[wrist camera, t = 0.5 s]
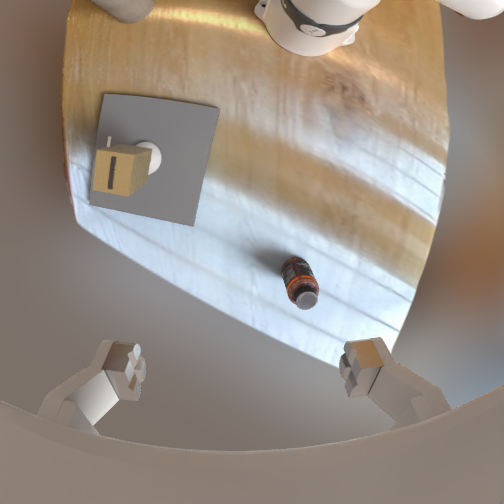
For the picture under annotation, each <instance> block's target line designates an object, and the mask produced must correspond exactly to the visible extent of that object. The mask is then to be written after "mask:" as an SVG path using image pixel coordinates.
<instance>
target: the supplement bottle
mask: <svg viewBox="0 0 504 504" xmlns="http://www.w3.org/2000/svg"><path fill="white" fill-rule="evenodd" d="M282 276H283V280H284V283H285V287H286V290H287V294H288V297H289V299H290V300H291V301H292V302H293V303H294V304H296V305H297V307H298V308H300V309H303V310H307V309H311V308H312V307H314V306H315V305H316V303H317V300H318V297H317V296H318V293H319V286H318V284H317V281H316V279H315V277H314V275H313V273H312V270H311V268H310V266H309V264H308V263H307V262H306V261H305V260H303V259H301V258H293V259H290V260H289V261H287V262H286V263H285V264H284V266H283V268H282Z"/></svg>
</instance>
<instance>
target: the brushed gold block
mask: <svg viewBox="0 0 504 504" xmlns="http://www.w3.org/2000/svg"><path fill="white" fill-rule="evenodd" d="M152 150H153V149H151V148H144V147H138V146H131V145H124V144H118V145H114V146H110V147H106V148H102V149H98V150H97V154H96V162H95V171H94V181H93V190H96V191H101V192H106V193H112V194H117V195H122V196H127V197H129V196H130V195H131V194H133V193H134V192H135V191H137V190H138V189H140V188H141V187H142V186H144V185H145V184H147V179H148V172H149V166H150V161H151V155H152Z"/></svg>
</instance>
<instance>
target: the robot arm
mask: <svg viewBox="0 0 504 504" xmlns="http://www.w3.org/2000/svg"><path fill="white" fill-rule="evenodd" d="M380 1H381V0H260V1H259V2H258V4H257V5H256V7H255V9H254V13H255V15H256V16H257V17H258V18H260V19H261V20H262V21H263V22H264V24H265V25H266V28H267V30H268V32H269V34H270V36H271V37H272V38H273V39H274V41H275V42H276V43H278V44H279V45H280V46H281V47H283V48H284V49H286V50H288V51H290V52H292V53H295V54H298V55H303V56H319V55H323V54H326V53H328V52H330V51H332V50H334V49H335V48H337V47H339V46H344V45H349V44H352V43H353V42H354V39H355V32H356V31H357V30H358V28H359V26H358V22H359V21H360V19H361V18H362V17H363V15H364V14H365V13H366V12H367V11H369V10H370V9H371V8H373V7H374V6H376V5H377V4H378V3H379V2H380ZM435 1H437V2H439V3H441V4H443V5H445V6H447V7H449V8H451V9H453V10H455V11H457V12H459V13H461V14H463V15H465V16H466V17H469V18H472V19H485V18H490V17H494V16H496V15H498V14H500V13H501V12H503V11H504V0H435ZM262 5H265V6H266V7H262ZM344 351H345V353H344V354H343V355H342V356H341V358H340V363H339V369H340V374H341V377H342V378H343V379H344V380H346V384H345V389H346V392H347V394H348V397H349V398H354V397H361V396H367V395H368V397H369V398H370V399H371V400H372V401H373V402H374V403H375V404H377V405H378V406H379V407H380V408H381V409H382V410H383V411H385V412H386V413H387V414H388V415H389V416H390V417H391V418H392V419H394V420H395V423H394V424H393V425H392V427H391V428H390V429H389V431H387V432H383V433H379V434H375V435H371V436H367V437H362V438H357V439H353V440H347V441H342V442H337V443H331V444H324V445H318V446H310V447H301V448H292V449H282V450H265V451H205V450H188V449H178V448H168V447H160V446H153V445H145V444H139V443H133V442H128V441H123V440H118V439H113V438H108V437H104V436H100V434H99V433H98V432H97V430H96V429H95V428H94V427H93V425H94V424H95V423H96V422H97V421H98V420H99V419H100V418H101V417H102V416H103V415H104V414H105V413H106V412H107V411H108V410H109V409H110V408H111V407H112V406H113V405H114V404H115V403H116V402H117V401H118V400H119V399H125V400H133V401H138V399H139V395H140V392H141V386H140V383H141V382H142V381H143V380H144V378H145V371H146V366H145V361H144V358H142V357H141V356H140V352H141V349H140V346H139V345H138V344H134V343H126V342H118V341H108V340H104V341H102V343H101V345H100V347H99V349H98V351H97V353H96V355H95V357H94V359H93V361H92V363H91V366H90V367H86V368H85V369H83V370H81V371H80V372H79V373H77V374H76V375H74V376H73V377H71V378H70V379H68V380H67V381H65V382H64V383H62V384H61V385H59V386H58V387H56V388H55V389H53V390H52V391H50V392H49V393H47V395H46V397H45V399H44V401H43V403H42V406H41V408H40V410H39V412H38V414H37V416H36V415H33V414H31V413H28V412H26V411H24V410H21V409H19V408H17V407H14V406H12V405H10V404H8V403H6V402H4V401H2V400H0V504H504V385H502V386H500V387H498V388H496V389H494V390H493V391H491V392H489V393H487V394H485V395H483V396H481V397H479V398H476V399H474V400H472V401H470V402H468V403H466V404H463V405H461V406H459V407H456V408H454V409H451V408H450V406H449V404H448V402H447V400H446V398H445V397H444V395H443V393H442V391H441V389H440V388H438V387H437V386H435V385H433V384H432V383H430V382H428V381H426V380H425V379H424V378H422V377H420V376H418V375H417V374H415V373H414V372H412V371H411V370H409V369H407V368H406V367H404V366H402V365H401V364H396V363H395V361H394V359H393V357H392V355H391V354H390V352H389V350H388V348H387V346H386V345H385V343H384V341H383V339H382V338H380V337H378V338H371V339H363V340H355V341H347V342H346V343H345V345H344Z"/></svg>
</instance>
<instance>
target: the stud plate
mask: <svg viewBox="0 0 504 504" xmlns="http://www.w3.org/2000/svg"><path fill="white" fill-rule="evenodd" d="M219 113H220V109H218V108H213V107H208V106H203V105H197V104H192V103H186V102H179V101H173V100H166V99H158V98H150V97H141V96H130V95H118V94H104V99H103V103H102V108H101V113H100V118H99V124H98V130H97V136H96V143H95V150H94V158H93V166H92V176H91V187H90V202H89V205H93V206H97V207H102V208H107V209H112V210H117V211H122V212H127V213H131V214H136V215H141V216H146V217H150V218H155V219H160V220H165V221H169V222H174V223H179V224H183V225H188V226H194V223H195V218H196V213H197V208H198V203H199V198H200V193H201V188H202V184H203V179H204V175H205V170H206V166H207V161H208V157H209V153H210V149H211V145H212V140H213V136H214V132H215V128H216V124H217V121H218V117H219ZM118 144H124V145H131V146H138V147H144V148H151V149H153V150H152V155H151V161H150V166H149V172H148V179H147V184H145V185H144V186H142V187H141V188H140V189H138V190H137V191H135V192H134V193H133V194H131V195H130V196H129V197H127V196H122V195H117V194H112V193H106V192H101V191H96V190H93V181H94V171H95V162H96V154H97V150H98V149H102V148H106V147H110V146H114V145H118Z"/></svg>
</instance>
